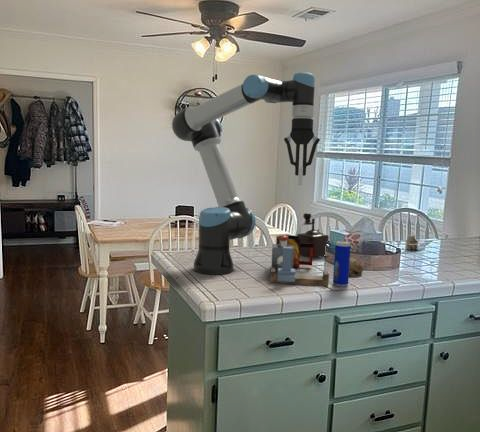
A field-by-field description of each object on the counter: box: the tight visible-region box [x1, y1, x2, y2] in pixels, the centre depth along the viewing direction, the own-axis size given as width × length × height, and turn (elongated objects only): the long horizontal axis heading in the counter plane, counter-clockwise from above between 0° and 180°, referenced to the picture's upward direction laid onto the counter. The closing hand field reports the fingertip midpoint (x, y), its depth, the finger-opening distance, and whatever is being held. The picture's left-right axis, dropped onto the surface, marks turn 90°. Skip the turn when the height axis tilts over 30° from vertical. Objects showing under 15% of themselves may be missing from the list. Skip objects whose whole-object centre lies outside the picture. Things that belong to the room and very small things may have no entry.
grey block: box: [270, 243, 294, 273], centre depth 182 cm, size 8×9×10 cm
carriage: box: [278, 246, 296, 282], centre depth 169 cm, size 6×8×11 cm
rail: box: [269, 267, 330, 287], centre depth 169 cm, size 20×6×4 cm, turn 85°
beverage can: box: [332, 240, 352, 287], centre depth 167 cm, size 5×5×15 cm
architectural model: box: [405, 234, 420, 251], centre depth 237 cm, size 3×7×7 cm, turn 118°
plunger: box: [278, 234, 288, 247], centre depth 182 cm, size 4×4×7 cm
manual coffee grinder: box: [296, 212, 330, 259], centre depth 218 cm, size 16×11×18 cm
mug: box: [275, 234, 314, 270], centre depth 193 cm, size 10×14×12 cm
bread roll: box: [349, 257, 363, 277], centre depth 185 cm, size 10×10×8 cm
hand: (300, 184), depth 173 cm, fingers closed
